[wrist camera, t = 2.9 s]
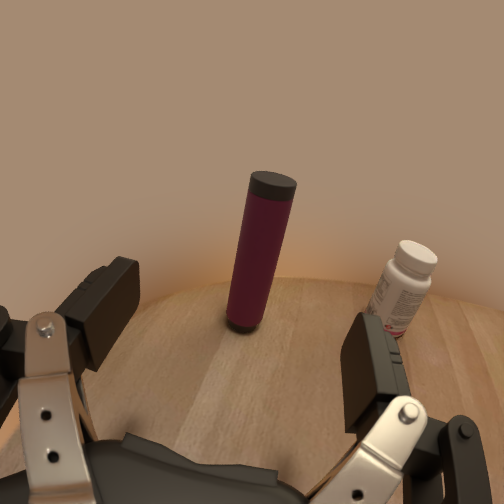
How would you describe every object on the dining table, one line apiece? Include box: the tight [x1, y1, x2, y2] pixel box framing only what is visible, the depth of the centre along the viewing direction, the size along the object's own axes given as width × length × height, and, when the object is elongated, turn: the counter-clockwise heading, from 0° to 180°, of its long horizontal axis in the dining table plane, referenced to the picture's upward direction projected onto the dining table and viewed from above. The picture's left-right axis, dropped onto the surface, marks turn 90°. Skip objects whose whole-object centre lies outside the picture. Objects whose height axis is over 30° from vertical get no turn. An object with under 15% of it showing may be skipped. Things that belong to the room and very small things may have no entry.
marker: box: [226, 171, 297, 333], centre depth 23 cm, size 3×3×12 cm
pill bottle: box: [365, 240, 438, 337], centre depth 27 cm, size 5×5×8 cm
